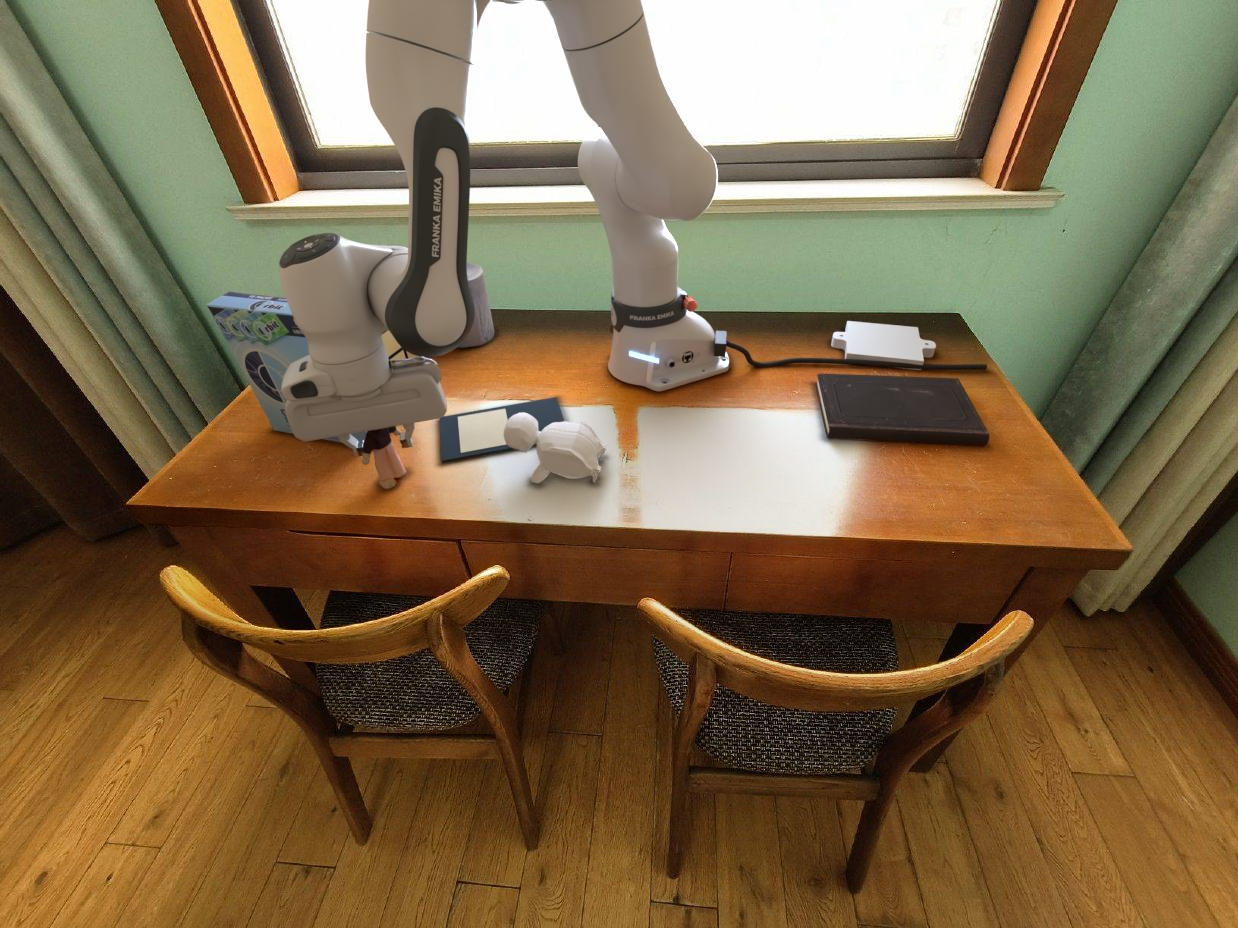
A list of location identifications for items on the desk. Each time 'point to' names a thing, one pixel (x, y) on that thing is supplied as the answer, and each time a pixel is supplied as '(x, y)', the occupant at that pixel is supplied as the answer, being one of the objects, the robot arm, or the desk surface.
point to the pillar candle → (479, 309)
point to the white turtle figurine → (557, 446)
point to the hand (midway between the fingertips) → (385, 449)
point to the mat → (489, 428)
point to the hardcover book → (899, 409)
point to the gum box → (263, 347)
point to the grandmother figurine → (383, 455)
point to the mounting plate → (883, 343)
